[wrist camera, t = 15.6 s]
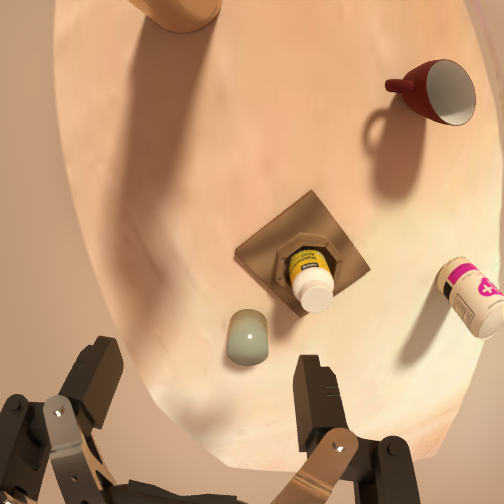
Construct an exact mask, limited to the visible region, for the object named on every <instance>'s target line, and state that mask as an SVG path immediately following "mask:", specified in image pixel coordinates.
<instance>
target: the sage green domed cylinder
mask: <svg viewBox="0 0 504 504" xmlns="http://www.w3.org/2000/svg"><path fill="white" fill-rule="evenodd" d="M227 354H228V357H229V358H230V359H231V360H232V361H233V362H235V363H237V364H239V365H244V366H252V365H257V364H260V363H262V362H263V361H264V360H265V359H266V358H267V356H268V332H267V320H266V318H265V316H264V315H263V314H262V313H260V312H259V311H256V310H252V309H244V310H240V311H238V312H236V313H235V314H234V315H233V316H232V317H231V319H230V327H229V337H228V347H227Z"/></svg>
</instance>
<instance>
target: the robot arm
mask: <svg viewBox="0 0 504 504" xmlns="http://www.w3.org/2000/svg"><path fill="white" fill-rule="evenodd" d="M127 1H129V2H130V3H131V4H133V5H134V6H135V7H137V8H138V9H139V10H141V11H142V12H143V13H145V14H146V15H147V16H149V17H150V18H151V19H152V20H153V21H155V22H156V23H157V24H158V25H160V26H161V27H162V28H164V29H166V30H168V31H171V32H176V33H185V32H191V31H195V30H198V29H200V28H202V27H204V26H205V25H207V24H209V23H210V22H211V21H212V20H213V19H214V18H215V17H216V15H217V14H218V12H219V10H220V8H221V3H222V0H127ZM122 372H123V359H122V356H121V353H120V350H119V347H118V344H117V341H116V339H115V338H111V337H105V336H98V338H97V339H96V341H95V343H94V344H93V346H92V345H88V346H87V347H86V348H85V349H83V350H82V351H81V352H80V354H79V356H78V357H77V359H76V362H75V363H74V365H73V367H72V369H71V370H70V372H69V374H68V376H67V378H66V380H65V382H64V384H63V386H62V388H61V390H60V392H59V394H58V395H56V396H52V397H50V398H49V399H48V400H47V401H46V402H44V403H43V402H40V403H39V402H28V400H27V399H26V398H25V397H24V396H23V395H20V394H14V395H12V396H10V397H9V398H8V399H7V400H6V402H5V404H4V406H3V408H2V411H1V413H0V504H37V500H38V496H39V492H40V488H41V484H42V480H43V476H44V473H45V469H46V466H47V463H48V459H49V456H50V460H51V464H52V467H53V470H54V473H55V476H56V479H57V482H58V485H59V487H60V490H61V493H62V495H63V498H64V501H65V503H66V504H248V503H245V502H242V501H239V500H237V496H231V495H217V494H202V495H191V496H179V495H176V494H174V493H171V492H169V491H166V490H164V489H162V488H159V487H157V486H155V485H151V484H146V483H142V482H138V481H133V480H129V483H128V484H121V485H117V483H116V481H115V479H114V478H113V476H112V475H111V473H110V472H109V470H108V469H107V466H106V464H105V462H104V460H103V458H102V456H101V453H100V450H99V448H98V446H97V443H96V441H95V438H94V435H93V433H92V432H91V431H92V429H93V427H94V428H98V429H102V426H103V423H104V420H105V417H106V415H107V412H108V409H109V406H110V404H111V401H112V398H113V396H114V393H115V391H116V388H117V385H118V383H119V380H120V377H121V375H122ZM293 394H294V403H295V413H296V423H297V433H298V443H299V452H307V461H306V462H305V463H304V465H303V466H302V467H301V469H300V470H299V471H298V472H297V473H296V474H295V476H294V477H293V478H292V479H291V480H290V482H289V483H288V484H287V485H286V486H285V488H284V489H283V490H282V491H281V492H280V494H279V495H278V496H277V497H276V498H275V499H274V500H273V501H272V502H271V504H325V502H326V501H327V500H328V498H329V497H330V495H331V492H332V489H333V488H334V486H335V484H336V483H337V482H338V480H339V479H341V480H347V481H353V483H354V493H355V504H421V503H420V497H419V492H418V487H417V482H416V477H415V472H414V467H413V463H412V458H411V454H410V450H409V446H408V444H407V442H406V441H405V440H404V439H402V438H401V437H398V436H388V437H386V438H384V439H383V440H382V441H375V440H368V439H363V438H360V437H357V436H356V435H355V434H354V433H353V432H352V431H350V430H349V428H348V426H347V422H346V418H345V413H344V409H343V405H342V400H341V396H340V392H339V388H338V383H337V379H336V375H335V374H334V373H333V371H332V370H331V369H330V367H321V366H320V361H319V357H318V355H300V356H299V359H298V363H297V366H296V370H295V374H294V378H293ZM51 449H52V452H51Z"/></svg>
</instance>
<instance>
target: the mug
mask: <svg viewBox="0 0 504 504" xmlns="http://www.w3.org/2000/svg"><path fill="white" fill-rule="evenodd" d="M385 88H386V90H387V91H389V92H396V93H401V94H402V97H403V99H404V101H405V102H406V104H407V105H408V106H409V107H410V108H411V109H412V110H413V111H414V112H416V113H418V114H420V115H422V116H424V117H426V118H429V119H431V120H433V121H435V122H438V123H441V124H446V125H453V126H459V125H463V124H465V123H466V122H468V121H469V120H470V118H471V117H472V115H473V113H474V110H475V105H476V95H475V89H474V86H473V83H472V81H471V79H470V77H469V75H468V74H467V72H466V71H465V70H464V69H463V68H462V67H461V66H460V65H458V64H457V63H455V62H453V61H451V60H445V59H442V60H434V61H429V62H426V63H424V64H422V65H420V66H418V67H417V68H415V69H413V70H411V71H410V72H408V73H407V74H406V75H405V77H404V78H403V80H401V79H390V80H387V81H386V82H385Z"/></svg>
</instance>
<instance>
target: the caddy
mask: <svg viewBox="0 0 504 504" xmlns="http://www.w3.org/2000/svg"><path fill="white" fill-rule="evenodd" d="M303 246H313V247H315V248H317V249H319V250H320V251H321V252H322V254H323V256H324V258H325V261H326V263H327V265H328V268H329V270H330V273H331V275H332V278H333V281H334V289H333V292H332V293H333V296H334V295H336V294H337V293H339V292H340V291H342V290H343V289H345V288H346V287H347V286H349V285H350V284H352V283H353V282H355V281H356V280H357V279H359V278H360V277H362V276H363V275H364V274H366V273H367V272H369V271H370V270H371V269H370V268H369V266H368V265H367V263H366V262H365V260H364V259H363V257H362V256H361V255H360V253H359V252H358V250H357V249H356V248H355V246H354V245H353V243H352V242H351V241H350V239H349V238H348V236H347V235H346V234H345V232H344V231H343V230H342V228H341V227H340V226H339V224H338V223H337V222H336V220H335V219H334V218H333V216H332V215H331V214H330V212H329V211H328V210H327V208H326V207H325V206H324V204H323V203H322V202H321V201H320V199H319V198H318V197H317V195H316V194H315V193H314V192H313V190H310V191H309V192H308V193H306V194H305V195H304V196H303V197H301V198H300V199H299V200H297V201H296V202H295V203H294V204H292V205H291V206H290V207H288V208H287V209H286V210H285V211H283V212H282V213H281V214H279V215H278V216H277V217H276V218H274V219H273V220H272V221H271V222H269V223H268V224H267V225H265V226H264V227H263V228H262V229H260V230H259V231H258V232H257V233H255V234H254V235H253V236H252V237H250V238H249V239H248V240H246V241H245V242H244V243H243V244H241V245H240V246H239V247H238V248H236V249H235V254H236V255H237V256H238V257H239V258H240V259H241V260H242V261H243V262H244V263H245V264H246V265H247V266H248V267H249V268H250V269H251V270H252V271H253V272H254V273H255V274H256V275H257V276H258V277H259V278H260V279H261V280H262V281H263V282H264V283H265V284H266V285H267V286H269V287H270V288H271V289H272V290H273V291H274V292H275V293H276V294H277V295H278V296H279V297H280V298H281V299H282V300H283V301H284V302H285V303H286V304H287V305H288V306H289V307H290V308H291V309H292V310H293V311H294V312H295V313H296V314H297V315H298V316H299V317H300V318H301V317H302V316H304V315H306V314H307V313H309V312H307V311H306V310H304V308H303V307H302V305H301V302H300V301H299V300H298V299H297V298H296V297H295V295H294V293H293V290H292V284H291V278H290V273H289V266H288V261H289V258H290V256H291V254H292V253H293V252H295V251H296V250H297V249H299V248H300V247H303Z"/></svg>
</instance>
